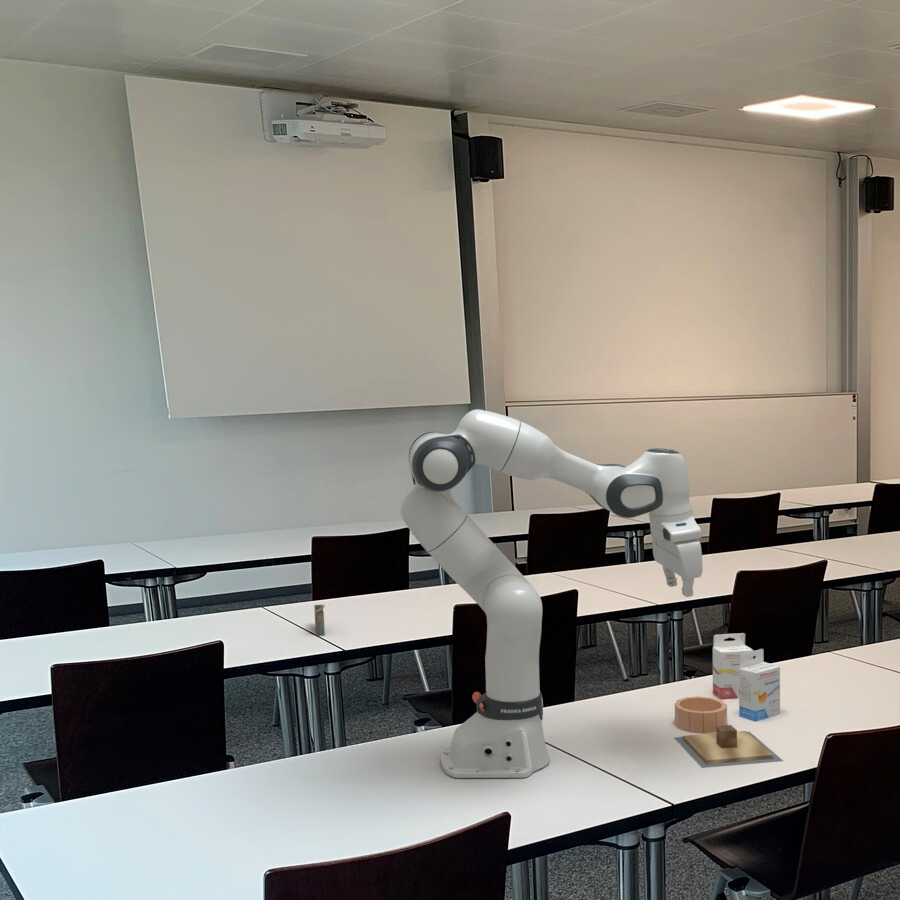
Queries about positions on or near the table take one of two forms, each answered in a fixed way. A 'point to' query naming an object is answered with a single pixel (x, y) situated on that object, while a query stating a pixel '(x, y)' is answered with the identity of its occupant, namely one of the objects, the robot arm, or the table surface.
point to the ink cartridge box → (728, 664)
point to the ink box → (758, 687)
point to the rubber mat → (704, 765)
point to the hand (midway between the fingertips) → (680, 590)
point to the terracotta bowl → (700, 714)
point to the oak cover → (727, 746)
